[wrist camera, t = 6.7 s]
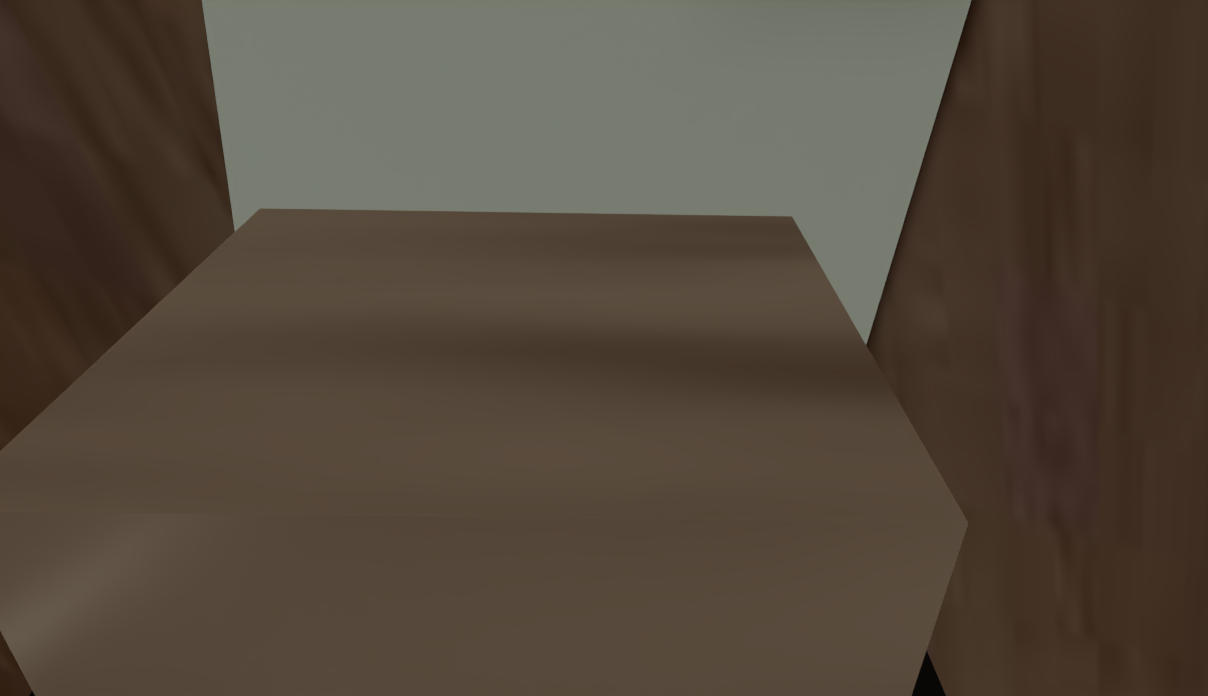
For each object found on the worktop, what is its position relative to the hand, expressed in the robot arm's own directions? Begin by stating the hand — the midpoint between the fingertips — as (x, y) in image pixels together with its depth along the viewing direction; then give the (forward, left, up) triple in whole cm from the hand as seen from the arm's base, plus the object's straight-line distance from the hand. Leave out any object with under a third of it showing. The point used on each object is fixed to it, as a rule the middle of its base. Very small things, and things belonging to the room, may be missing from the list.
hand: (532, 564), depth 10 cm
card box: (0, 0, -1) cm, 1 cm away
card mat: (0, 0, -15) cm, 15 cm away
